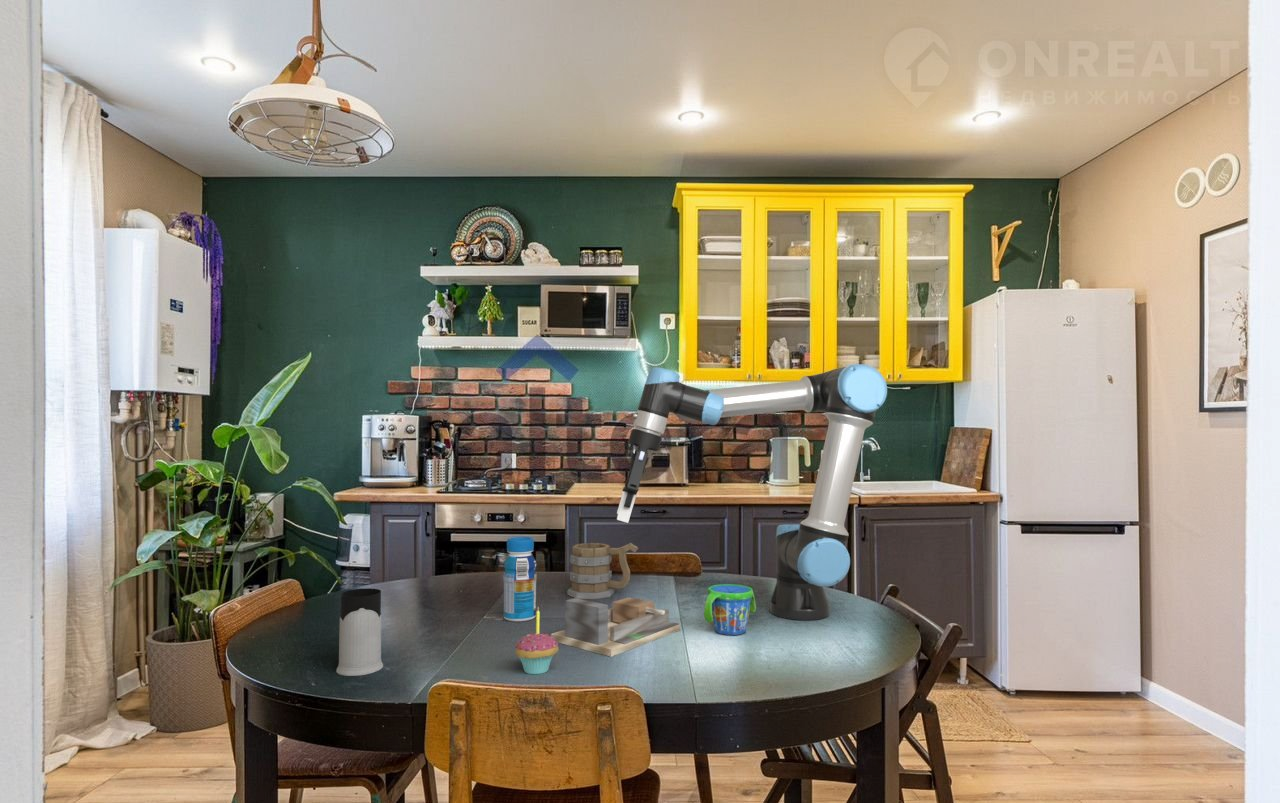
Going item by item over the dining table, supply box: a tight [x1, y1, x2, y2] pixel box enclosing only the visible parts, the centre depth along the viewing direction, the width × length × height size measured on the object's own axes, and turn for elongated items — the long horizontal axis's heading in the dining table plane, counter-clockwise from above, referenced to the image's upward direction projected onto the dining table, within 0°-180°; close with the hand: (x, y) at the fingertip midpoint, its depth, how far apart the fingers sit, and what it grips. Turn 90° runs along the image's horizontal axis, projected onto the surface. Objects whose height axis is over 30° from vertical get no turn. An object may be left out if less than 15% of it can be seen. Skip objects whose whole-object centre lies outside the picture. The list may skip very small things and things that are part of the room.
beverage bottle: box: [502, 536, 538, 623], centre depth 179 cm, size 8×8×20 cm
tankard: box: [566, 542, 639, 601], centre depth 204 cm, size 20×13×15 cm, turn 80°
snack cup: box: [703, 583, 757, 636], centre depth 167 cm, size 16×10×10 cm
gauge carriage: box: [612, 596, 665, 623], centre depth 167 cm, size 13×6×5 cm, turn 51°
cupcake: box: [515, 606, 560, 675], centre depth 140 cm, size 9×8×12 cm
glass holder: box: [335, 587, 384, 677], centre depth 144 cm, size 9×14×15 cm, turn 24°
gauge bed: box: [550, 597, 681, 658], centre depth 164 cm, size 18×25×10 cm
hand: (622, 518), depth 167 cm, fingers open, 13 cm apart
